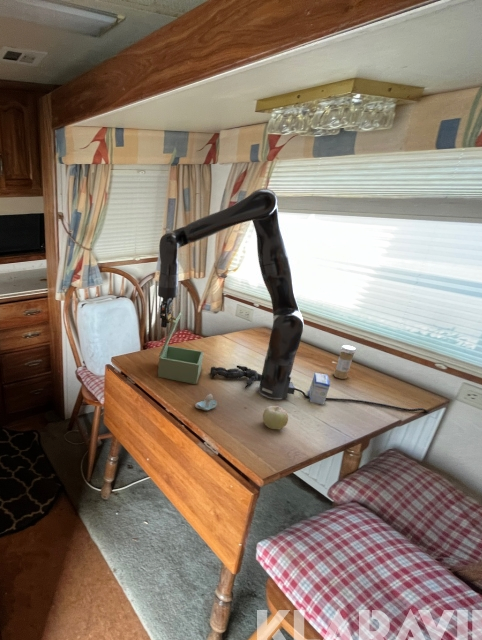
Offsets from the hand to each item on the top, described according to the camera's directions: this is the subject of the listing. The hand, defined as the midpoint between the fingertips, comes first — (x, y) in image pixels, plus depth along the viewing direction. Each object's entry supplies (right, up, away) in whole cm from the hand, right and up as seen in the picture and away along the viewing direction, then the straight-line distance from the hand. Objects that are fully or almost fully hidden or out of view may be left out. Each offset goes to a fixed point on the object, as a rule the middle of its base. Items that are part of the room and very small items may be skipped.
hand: (165, 324), depth 147 cm
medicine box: (+53, -28, -13) cm, 62 cm away
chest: (+7, -21, +5) cm, 22 cm away
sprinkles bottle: (+73, -22, +1) cm, 76 cm away
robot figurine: (+29, -22, +1) cm, 37 cm away
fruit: (+29, -35, -28) cm, 53 cm away
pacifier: (+10, -31, -18) cm, 37 cm away
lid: (+3, -4, 0) cm, 5 cm away
